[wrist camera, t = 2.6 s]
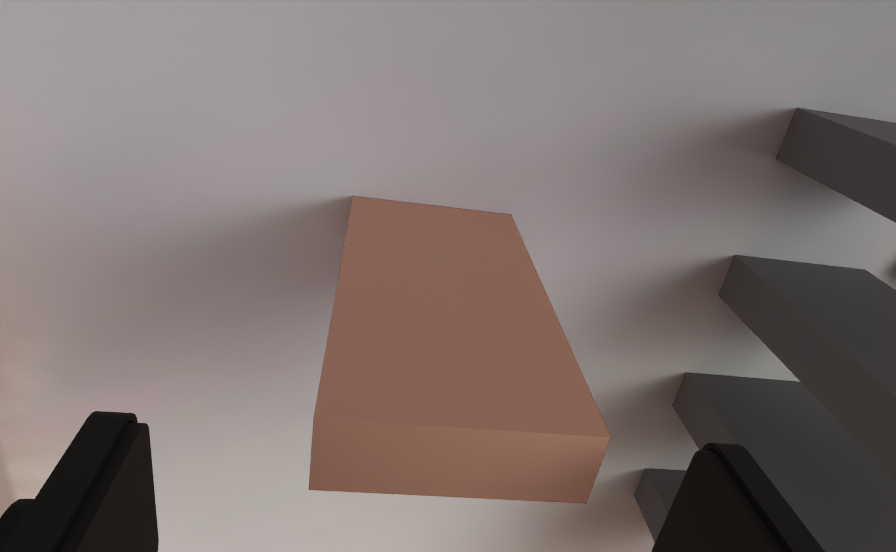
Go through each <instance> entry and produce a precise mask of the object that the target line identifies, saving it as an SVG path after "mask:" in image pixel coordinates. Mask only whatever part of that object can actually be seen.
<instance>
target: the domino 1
mask: <svg viewBox="0 0 896 552" xmlns="http://www.w3.org/2000/svg"><path fill="white" fill-rule="evenodd" d="M610 438H611V437H610V435H609V433H608V430H607V428H606V426H605V424H604V422H603V419H602V417H601V415H600V413H599V410H598V408H597V406H596V404H595V401H594V399H593V397H592V395H591V392H590V390H589V388H588V386H587V383H586V381H585V379H584V377H583V375H582V372H581V370H580V368H579V366H578V363H577V361H576V359H575V357H574V354H573V352H572V350H571V348H570V345H569V343H568V341H567V339H566V337H565V334H564V332H563V330H562V328H561V325H560V323H559V321H558V319H557V316H556V314H555V312H554V310H553V307H552V305H551V303H550V301H549V298H548V296H547V294H546V292H545V290H544V287H543V285H542V283H541V281H540V278H539V276H538V274H537V272H536V269H535V267H534V265H533V263H532V260H531V258H530V256H529V254H528V252H527V249H526V247H525V245H524V243H523V240H522V238H521V236H520V234H519V231H518V229H517V227H516V225H515V222H514V220H513V218H512V216H511V215H509V214H500V213H492V212H484V211H475V210H467V209H458V208H450V207H441V206H433V205H424V204H416V203H408V202H399V201H391V200H382V199H374V198H365V197H357V196H353V198H352V204H351V209H350V215H349V220H348V226H347V232H346V237H345V243H344V249H343V254H342V260H341V266H340V271H339V277H338V283H337V288H336V294H335V300H334V305H333V311H332V317H331V322H330V328H329V334H328V339H327V345H326V351H325V356H324V362H323V368H322V373H321V379H320V384H319V390H318V396H317V401H316V407H315V413H314V419H313V434H312V448H311V463H310V478H309V490H323V491H344V492H364V493H385V494H405V495H425V496H446V497H466V498H487V499H507V500H527V501H548V502H568V503H587V500H588V498H589V495H590V492H591V490H592V487H593V484H594V481H595V479H596V476H597V473H598V471H599V468H600V465H601V463H602V460H603V457H604V455H605V452H606V449H607V446H608V444H609V441H610Z"/></svg>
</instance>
